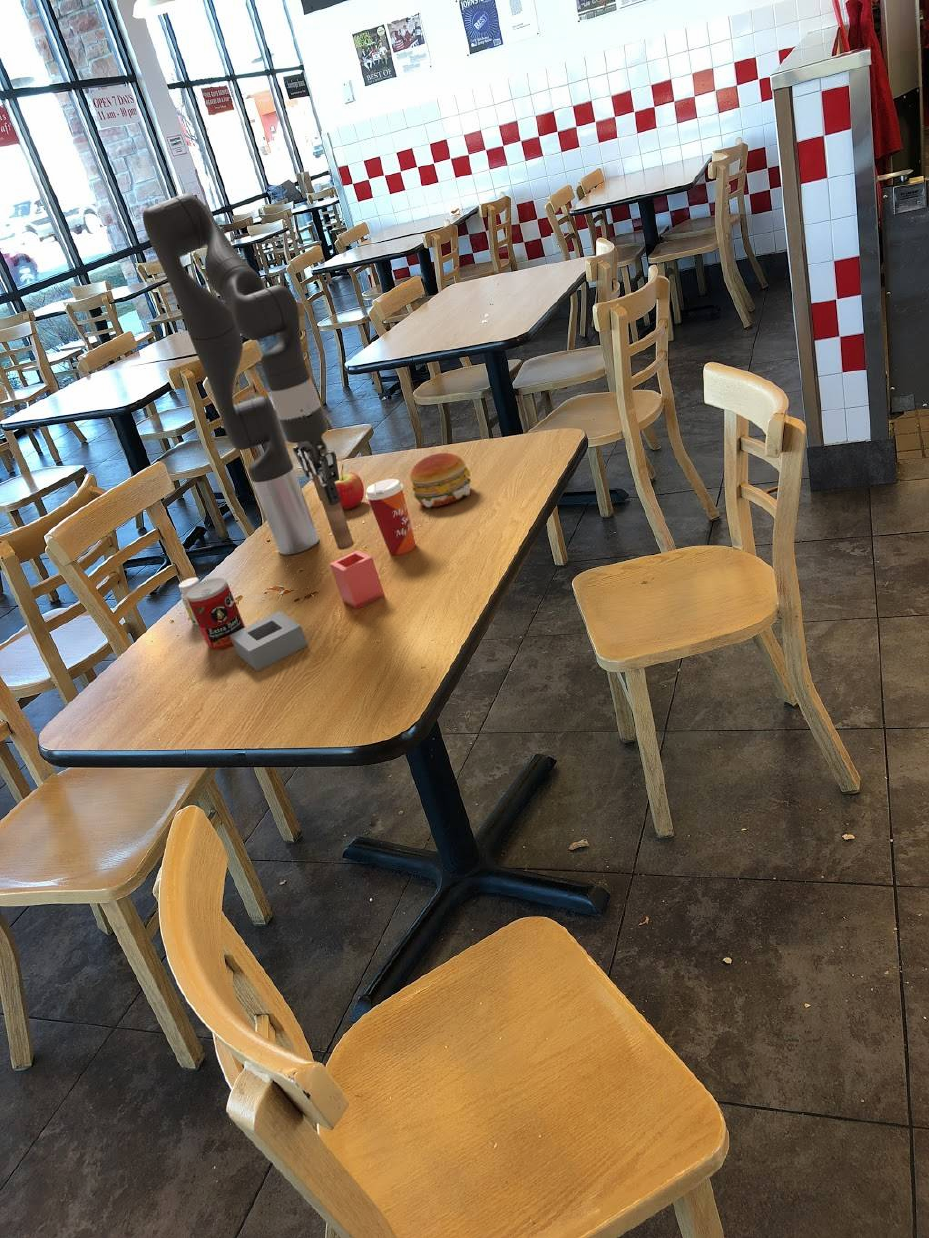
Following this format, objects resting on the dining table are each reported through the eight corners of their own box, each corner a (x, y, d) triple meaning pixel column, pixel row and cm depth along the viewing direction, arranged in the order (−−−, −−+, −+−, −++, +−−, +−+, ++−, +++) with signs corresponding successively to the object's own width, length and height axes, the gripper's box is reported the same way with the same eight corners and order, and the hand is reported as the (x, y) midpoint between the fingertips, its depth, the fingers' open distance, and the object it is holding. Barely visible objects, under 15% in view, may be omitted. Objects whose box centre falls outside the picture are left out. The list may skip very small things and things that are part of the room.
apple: (375, 498, 234) (362, 459, 229) (354, 514, 228) (340, 474, 223) (349, 499, 238) (336, 460, 234) (327, 514, 233) (313, 475, 228)
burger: (440, 485, 230) (428, 445, 226) (486, 486, 222) (475, 444, 217) (405, 510, 221) (392, 469, 217) (452, 512, 213) (440, 468, 209)
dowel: (335, 547, 181) (308, 471, 174) (349, 540, 182) (323, 465, 175) (342, 551, 179) (315, 474, 172) (356, 544, 180) (330, 467, 173)
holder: (237, 654, 178) (229, 635, 176) (286, 629, 182) (279, 610, 180) (257, 671, 170) (248, 651, 168) (308, 645, 174) (300, 625, 172)
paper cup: (415, 554, 197) (395, 489, 191) (380, 560, 199) (359, 496, 193) (424, 537, 204) (405, 474, 198) (390, 543, 206) (370, 481, 200)
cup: (343, 601, 186) (329, 563, 183) (370, 587, 189) (357, 550, 185) (356, 609, 181) (343, 570, 178) (384, 595, 184) (371, 557, 180)
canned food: (213, 655, 180) (190, 602, 175) (203, 641, 187) (181, 590, 182) (252, 637, 183) (231, 585, 178) (241, 624, 189) (220, 573, 184)
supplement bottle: (220, 612, 197) (204, 575, 193) (208, 624, 193) (191, 587, 190) (200, 614, 199) (185, 577, 195) (188, 626, 195) (171, 589, 191)
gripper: (264, 413, 173) (297, 503, 181) (295, 422, 161) (329, 517, 169) (302, 398, 176) (332, 487, 183) (335, 405, 164) (366, 500, 172)
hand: (330, 501), depth 176 cm, fingers closed on dowel, 3 cm apart
